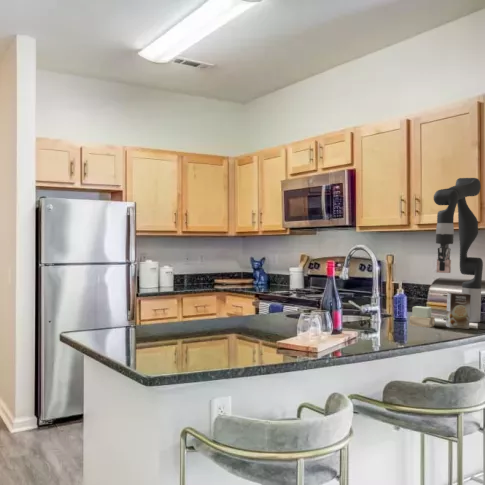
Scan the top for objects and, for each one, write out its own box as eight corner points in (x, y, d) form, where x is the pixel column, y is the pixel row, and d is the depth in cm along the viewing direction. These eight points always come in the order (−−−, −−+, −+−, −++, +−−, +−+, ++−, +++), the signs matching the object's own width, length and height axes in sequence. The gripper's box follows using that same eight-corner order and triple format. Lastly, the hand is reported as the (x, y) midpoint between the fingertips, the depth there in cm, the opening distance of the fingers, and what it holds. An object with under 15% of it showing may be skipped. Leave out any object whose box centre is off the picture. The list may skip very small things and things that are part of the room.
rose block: (439, 272, 249) (439, 259, 249) (450, 272, 246) (450, 259, 247) (436, 272, 245) (436, 259, 245) (447, 273, 242) (448, 259, 242)
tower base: (415, 324, 263) (415, 314, 263) (434, 326, 257) (434, 316, 257) (409, 326, 255) (409, 316, 255) (428, 328, 250) (429, 318, 250)
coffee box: (449, 327, 252) (450, 293, 252) (445, 325, 258) (446, 292, 258) (469, 329, 251) (470, 294, 251) (465, 326, 257) (466, 293, 257)
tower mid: (416, 315, 261) (416, 306, 261) (431, 316, 257) (431, 307, 257) (412, 316, 256) (412, 307, 256) (427, 318, 252) (427, 308, 252)
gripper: (440, 233, 254) (439, 269, 254) (432, 232, 242) (430, 270, 242) (457, 234, 250) (455, 270, 250) (449, 232, 238) (448, 271, 238)
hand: (443, 270), depth 246 cm, fingers closed on rose block, 5 cm apart
